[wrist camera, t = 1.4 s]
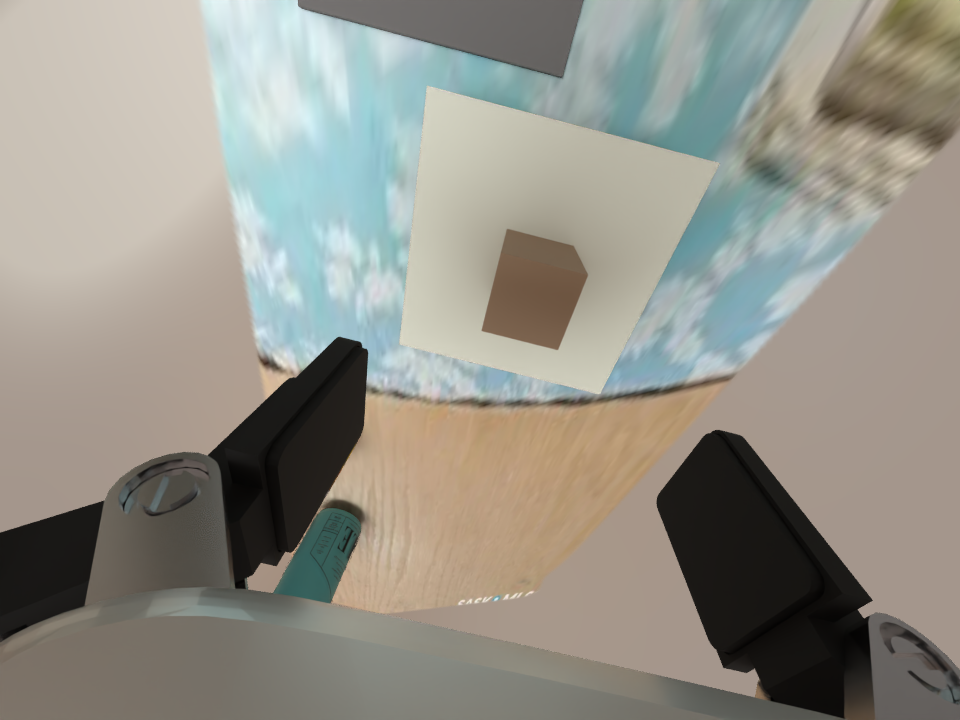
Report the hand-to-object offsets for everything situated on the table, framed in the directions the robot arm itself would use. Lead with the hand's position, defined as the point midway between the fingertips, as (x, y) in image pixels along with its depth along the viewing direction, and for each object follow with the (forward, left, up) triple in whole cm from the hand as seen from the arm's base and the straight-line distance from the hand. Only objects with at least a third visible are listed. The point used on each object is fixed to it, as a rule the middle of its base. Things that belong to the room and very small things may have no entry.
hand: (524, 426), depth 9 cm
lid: (0, 0, -15) cm, 15 cm away
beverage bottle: (+14, +40, -20) cm, 46 cm away
